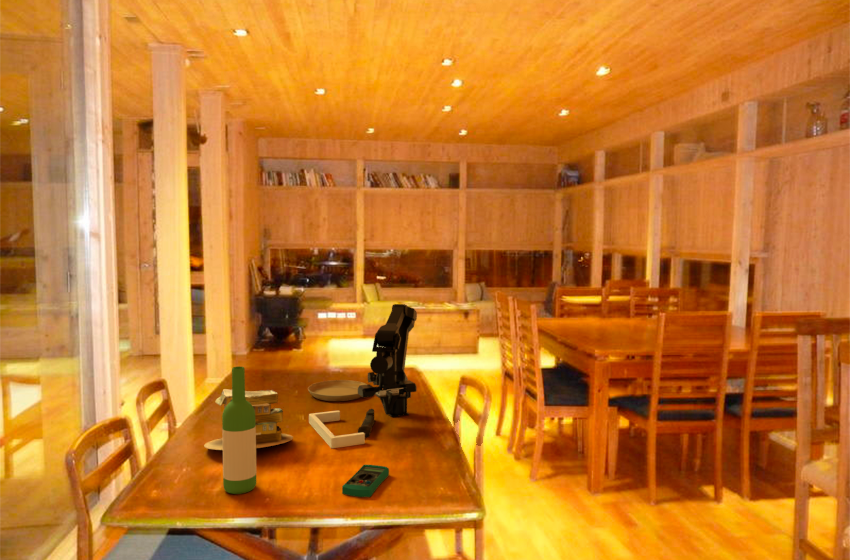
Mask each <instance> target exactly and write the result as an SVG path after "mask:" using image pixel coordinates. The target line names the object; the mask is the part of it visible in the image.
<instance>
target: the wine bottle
mask: <svg viewBox="0 0 850 560" xmlns="http://www.w3.org/2000/svg"><path fill="white" fill-rule="evenodd" d="M245 376H246V375H245V367H244V366H240V365H239V366H233V367H231V390H232V401H231V402H230V403H229V404H228V405H227V406H226V407H224V409H223V411H222V416H221V419H222V420H221V422H222V427H221V429H222V437H221V438H223V450H222V478H223V480H222V483H223V489H224V491H225V492H226V493H228V494H231V495H233V494H234V495H240V494H241V495H242V494H246V493H249V492H250V491H252V490H254V489H255V488H256V485H257V448H256V422H255V410H254V408H253V406H252V405H251V404H250V403H249V402H248V401H247V400H246V399H245V391H246V378H245Z"/></svg>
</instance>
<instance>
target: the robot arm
mask: <svg viewBox="0 0 850 560" xmlns="http://www.w3.org/2000/svg"><path fill="white" fill-rule="evenodd" d="M417 319H418V313H417V310H416V309H415V308H414V307H411V306H408V305H407V304H402V303H394V304H392V306H391V311H390V314H389V316H388V318H387V320H386V323H385V324H383V325H381V326H379V328H378V330H377V331H376V332H375V334H374V339H373V345H372V350H371V351H372V353H373V352H374V353H376V355H375V356H374V357H373V358H372V359H371V361H370V363H369V364H370V366H369V367H370V369H371V371H372V372H367V382H368V383H369V384H367V385H360V386H359V387H358V394H359V395H360V396H362V397H361V398H372V397H374V396H376V397H378V398H379V400H380V402H381V403H382V404H381V405H382V407H383V410H384V413H385V415H386V416H387V415H388V416H390V417H392V418H394V417H402V416H409V415H410V413H409V412H408V399H411V398H412V393H416V392H417V391H418V390H417V384H416V383H415V382H413V381H412V380H410V379H409V378H408V376H407V373H406V372H405V368H406V367H405V366H406V359H407V351H408V341H409V335H410V332H411V331H412V329H413V328H415V323H416V321H417ZM371 383H372V384H373V386H372V385H371Z"/></svg>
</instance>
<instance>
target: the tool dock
mask: <svg viewBox="0 0 850 560" xmlns="http://www.w3.org/2000/svg"><path fill="white" fill-rule="evenodd" d="M340 420H341V411H340V410H331V411H324V412H323V411H321V412H315V413H314V412H313V413H308V423H309V425H311V428H313V429H314V430H315V432H316V433H317V434H318V435H319V436H320V437H321V438H322V440H323V441H324V442H325V443H326V444H327V445H328V446H329V448H330V449H336V448H344V447H350V446H357V445H364V444H365V443H366V440H365V439H366V438H365V434H364V433H363V432H362V433H358V432H354V433H350V434H349V433H348V434H341V435H340V434H339V435H334V433H333V432H331V430H330V429H329V428H328V427H327V426H326V425H325V424H324V423H329V422H336V421H337V422H338V421H340Z"/></svg>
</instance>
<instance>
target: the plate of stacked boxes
mask: <svg viewBox="0 0 850 560" xmlns="http://www.w3.org/2000/svg"><path fill="white" fill-rule="evenodd" d="M245 399H246V400H247V401H248V402H249V403H250V404H251V405H252V406H253V408H254V410H255V422H256V449H261V448H266V447H267V448H268V447H271V446H272V447H273V446H276V445H277V446H278V445H280V444H285V443H287V442H290V441H292V440H293V439H294V436H293V435H291V434H287V433H282V428H281V427H280V426H278V423H283V422H284V421H283V419H284V418H283V416H284V411H283V410H284V409H281V408H280V407H279V408H272V404H278V402H279V394H278V392H277V391H274V389H271V390H270V389H267V390H263V389H262V390H255V391H254V390H253V391H252V390H251V391H249V390H248V391H247V390H245ZM231 401H232V389H227V388H224V389H222V392H221V393H220V396H219V397H218V398H216V399H215V401H214V402H215V404H217V405H218V406H220V407H221V406H222V405H224V408H225V407H226V406H227V405H228V404H229V403H230V402H231ZM203 446H204V448H206V449H209V450H216V451H223V438H222V437H221V438H217V439H213V440H211V441H210V440H209V441H207V442H205V444H204V445H203Z"/></svg>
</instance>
